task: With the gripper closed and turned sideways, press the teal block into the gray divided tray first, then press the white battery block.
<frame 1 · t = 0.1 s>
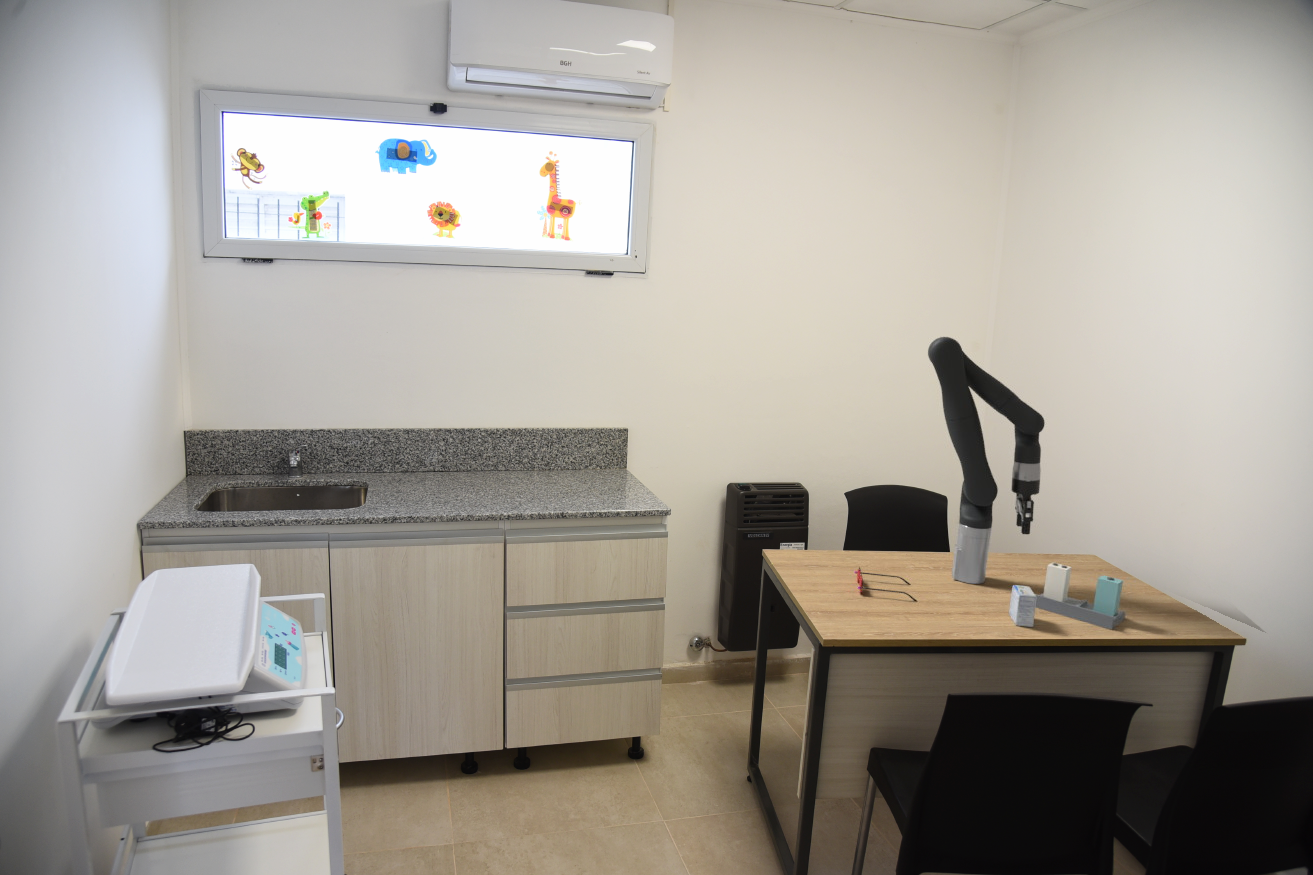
hand: (1022, 529, 237), 17 cm above the table, tool pointing down, fingers open, 8 cm apart
medicine box: (1020, 621, 213), on the table
gray divided tray: (1078, 612, 221), on the table
white battery block: (1057, 582, 224), point 7 cm above the table, slide at 0.0 cm
teal block: (1107, 596, 215), point 7 cm above the table, slide at 0.0 cm
glasses: (884, 591, 231), on the table
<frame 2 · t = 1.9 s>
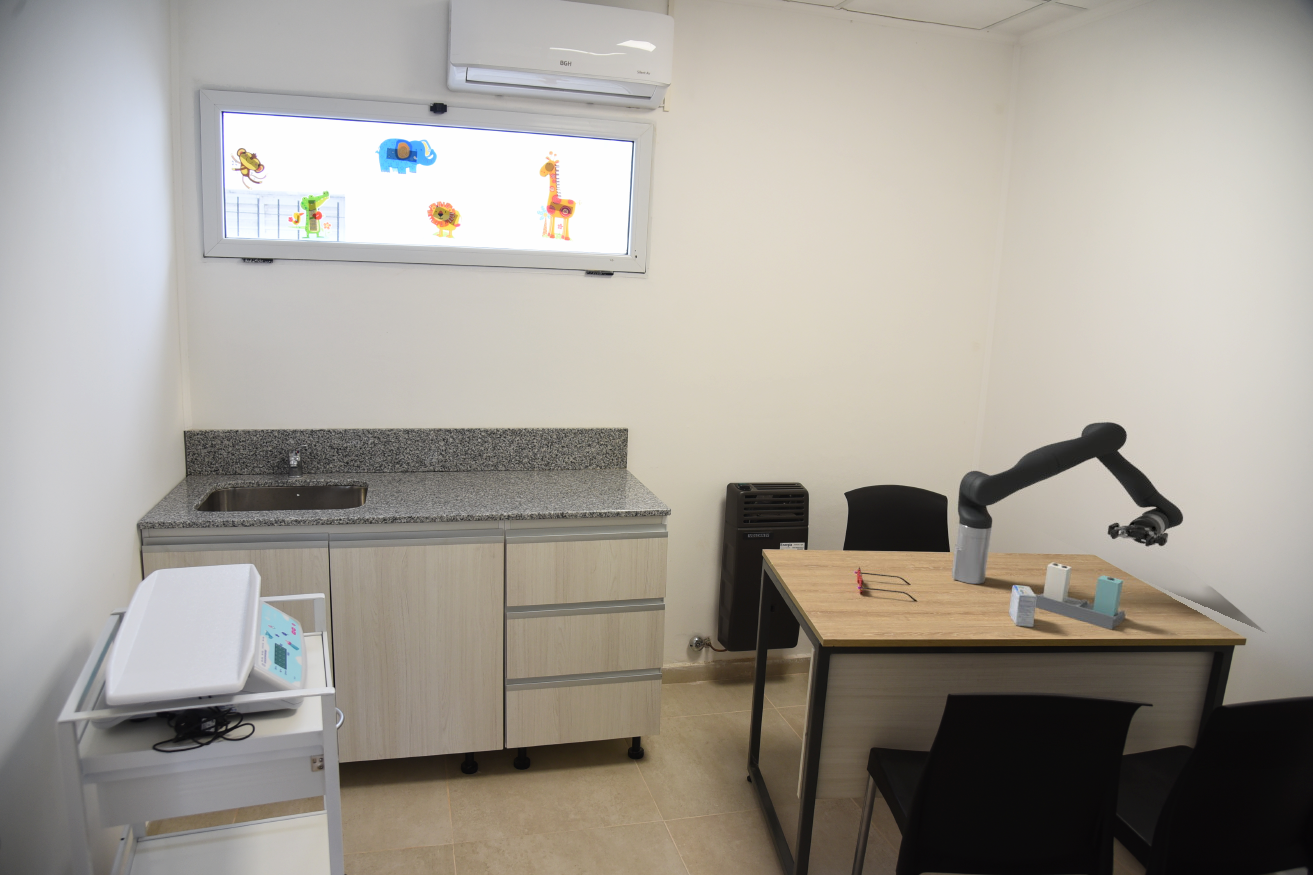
hand: (1130, 539, 222), 20 cm above the table, tool horizontal, fingers open, 8 cm apart
nothing on the table moved.
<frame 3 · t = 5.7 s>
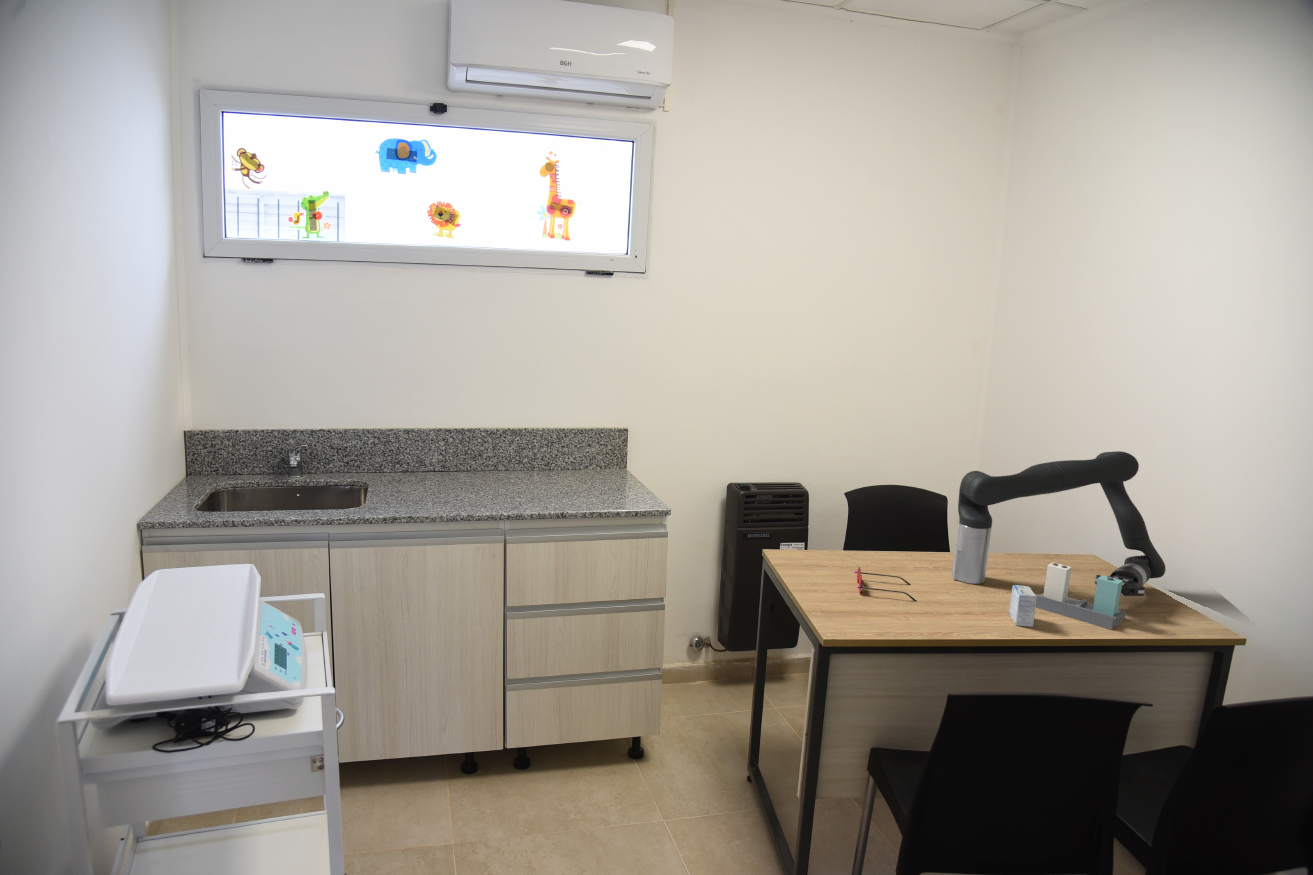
hand: (1110, 592, 216), 7 cm above the table, tool horizontal, fingers closed
teal block: (1107, 596, 215), point 7 cm above the table, slide at 0.3 cm, touching gripper
everything else where it was.
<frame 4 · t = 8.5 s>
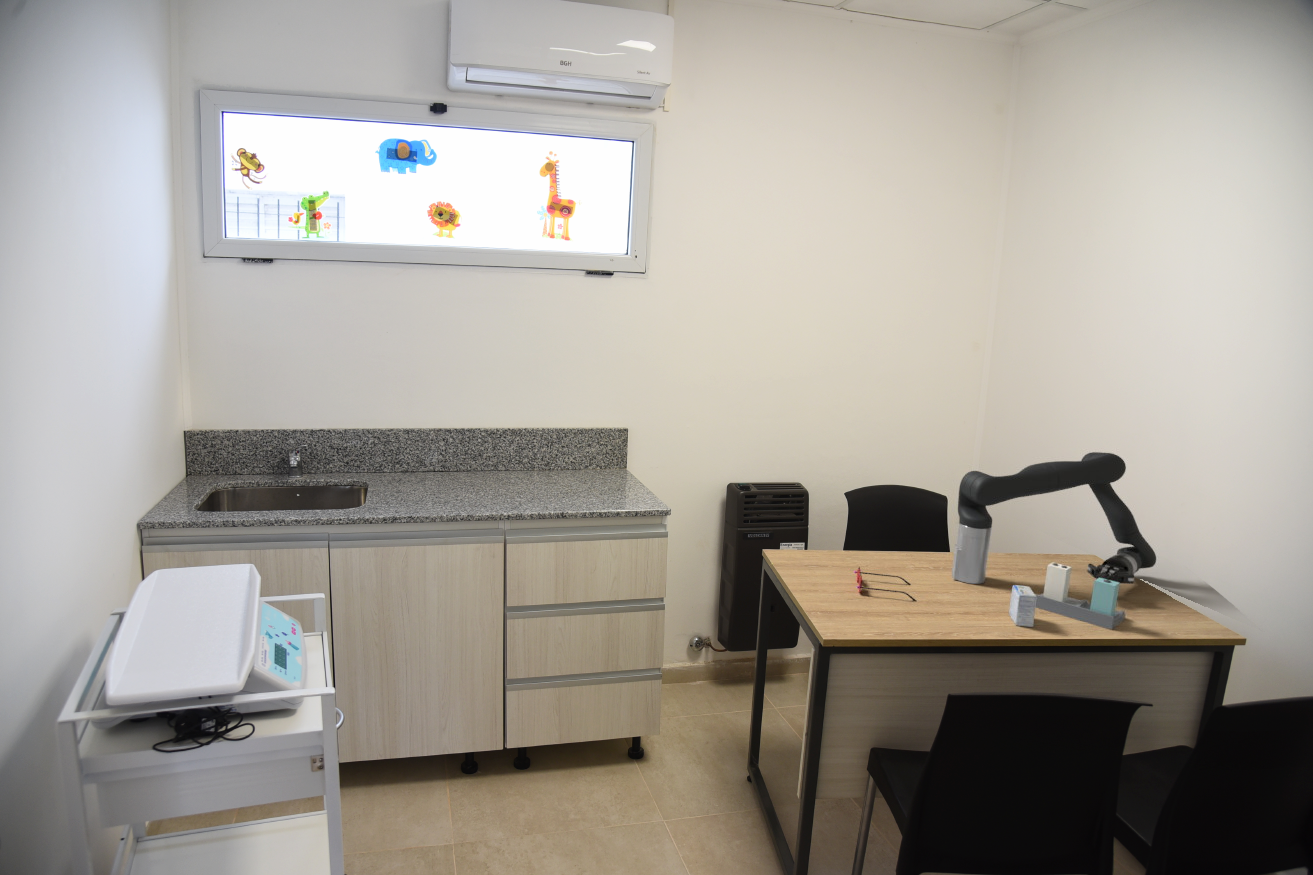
hand: (1100, 579, 227), 7 cm above the table, tool horizontal, fingers closed
teal block: (1104, 598, 213), point 7 cm above the table, slide at 2.9 cm
everything else where it was.
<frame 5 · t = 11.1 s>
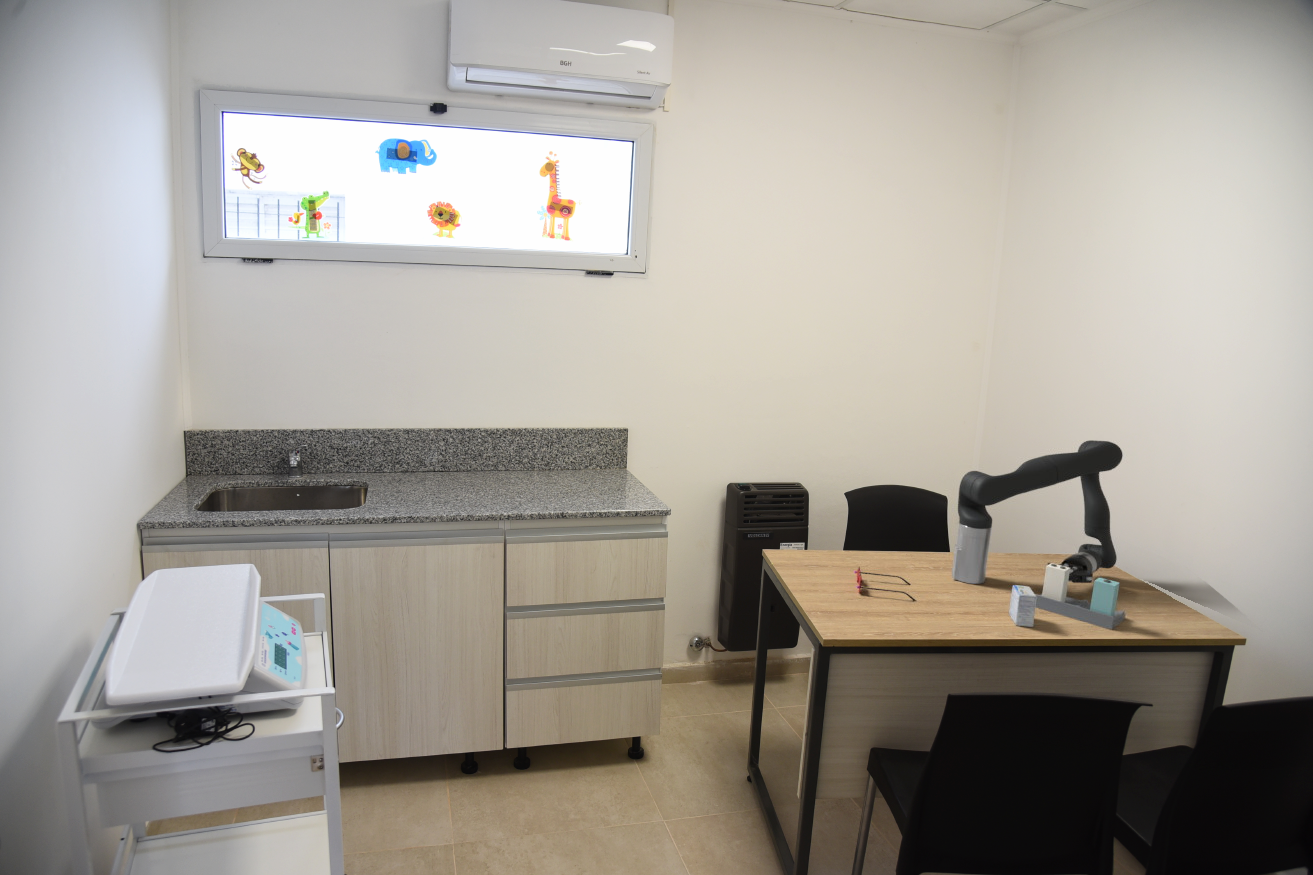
hand: (1058, 579, 224), 8 cm above the table, tool horizontal, fingers closed
white battery block: (1055, 583, 223), point 7 cm above the table, slide at 1.1 cm, touching gripper
everything else where it was.
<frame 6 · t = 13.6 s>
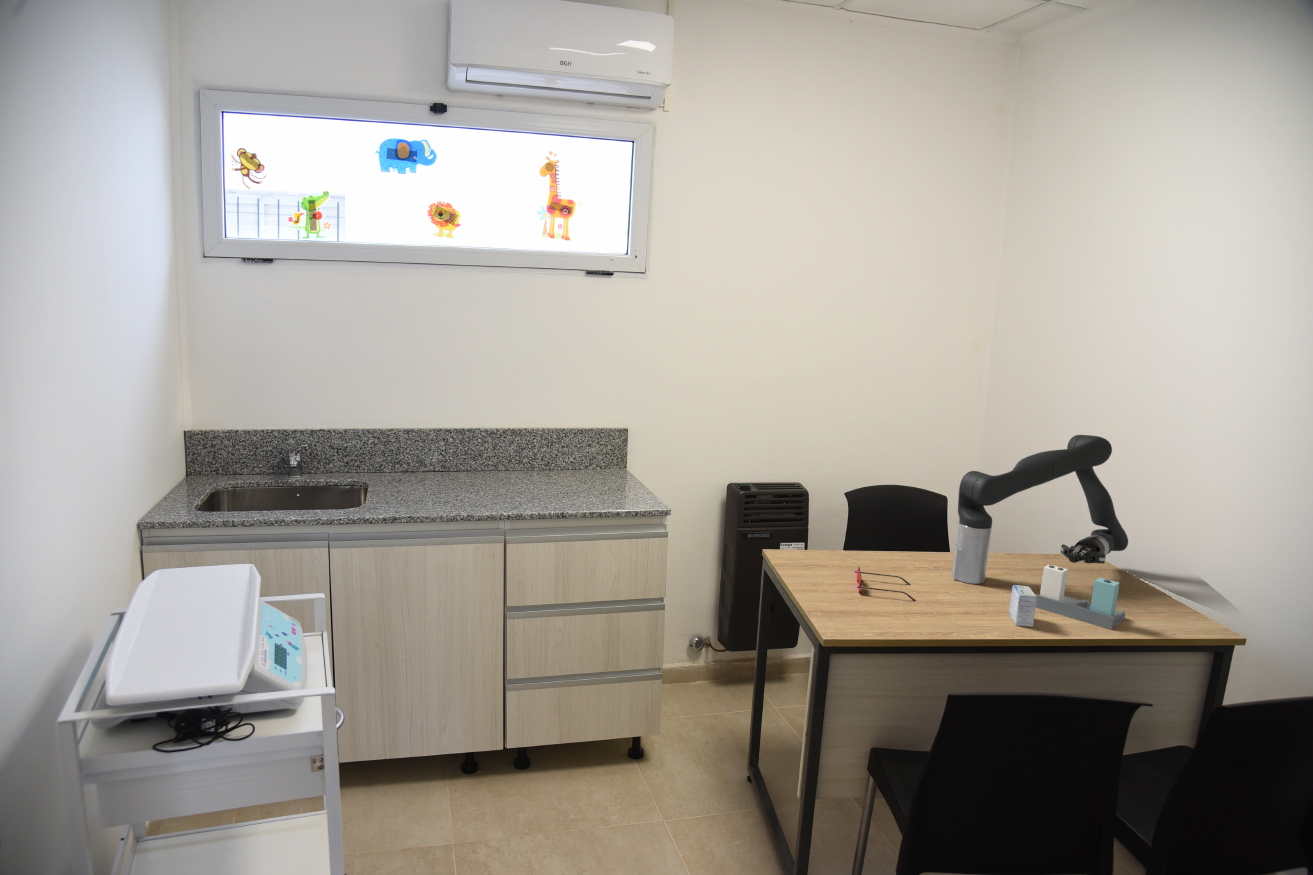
hand: (1072, 558, 233), 11 cm above the table, tool horizontal, fingers closed
white battery block: (1053, 584, 222), point 7 cm above the table, slide at 3.0 cm
everything else where it was.
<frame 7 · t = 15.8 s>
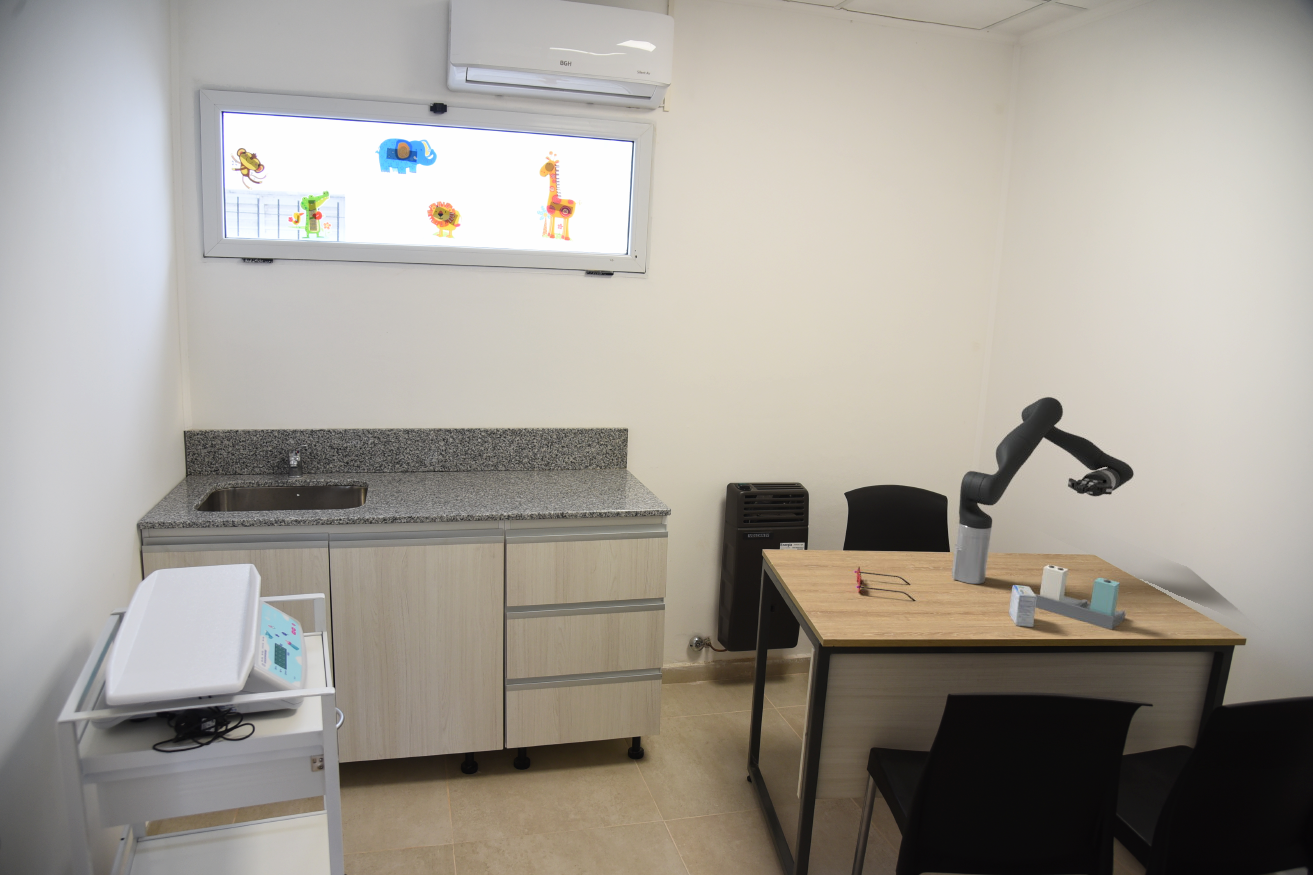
hand: (1080, 490, 236), 30 cm above the table, tool horizontal, fingers closed
nothing on the table moved.
at the end: teal block slide at 2.9 cm; white battery block slide at 3.0 cm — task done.
